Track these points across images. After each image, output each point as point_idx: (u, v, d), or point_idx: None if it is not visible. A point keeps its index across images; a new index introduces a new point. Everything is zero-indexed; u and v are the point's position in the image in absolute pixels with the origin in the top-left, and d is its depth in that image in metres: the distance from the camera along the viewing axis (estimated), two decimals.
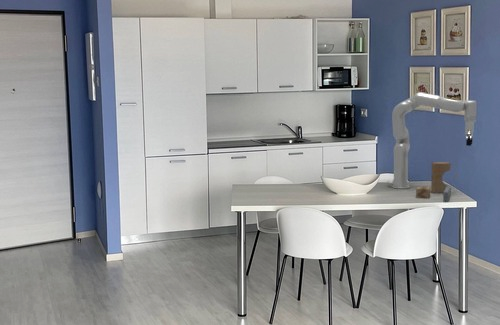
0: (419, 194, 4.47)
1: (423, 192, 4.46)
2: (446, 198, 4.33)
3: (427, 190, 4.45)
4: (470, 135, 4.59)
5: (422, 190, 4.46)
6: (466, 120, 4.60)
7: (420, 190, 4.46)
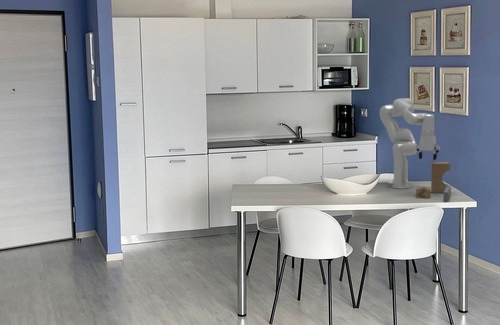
0: (419, 194, 4.47)
1: (423, 192, 4.46)
2: (446, 198, 4.33)
3: (427, 190, 4.45)
4: (434, 149, 4.52)
5: (422, 190, 4.46)
6: (431, 134, 4.49)
7: (420, 190, 4.46)
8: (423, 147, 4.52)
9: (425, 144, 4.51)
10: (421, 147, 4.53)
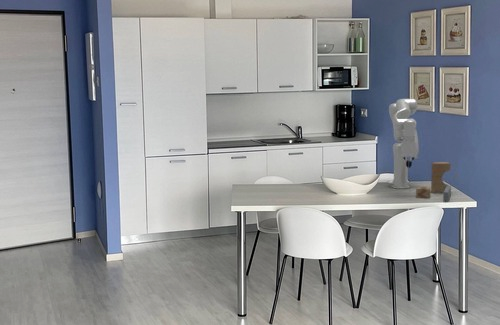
0: (419, 194, 4.47)
1: (423, 192, 4.46)
2: (446, 198, 4.33)
3: (427, 190, 4.45)
4: (412, 156, 4.50)
5: (422, 190, 4.46)
6: (413, 140, 4.45)
7: (420, 190, 4.46)
8: (405, 153, 4.48)
9: (408, 150, 4.47)
10: (403, 153, 4.48)
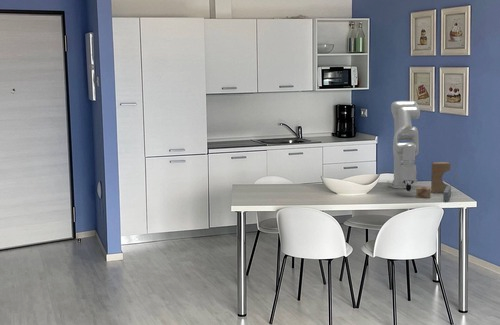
0: (419, 194, 4.47)
1: (423, 192, 4.46)
2: (446, 198, 4.33)
3: (427, 190, 4.45)
4: None
5: (422, 190, 4.46)
6: (413, 164, 4.47)
7: (420, 190, 4.46)
8: (405, 177, 4.50)
9: (407, 174, 4.49)
10: (403, 177, 4.50)
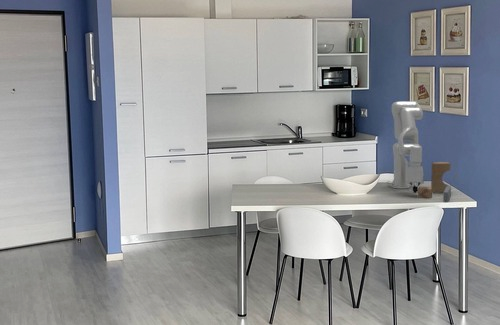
0: (421, 194, 4.47)
1: (425, 192, 4.45)
2: (446, 198, 4.33)
3: (429, 190, 4.44)
4: None
5: (424, 190, 4.45)
6: (420, 166, 4.46)
7: (422, 190, 4.46)
8: (411, 179, 4.48)
9: (414, 175, 4.47)
10: (409, 179, 4.49)
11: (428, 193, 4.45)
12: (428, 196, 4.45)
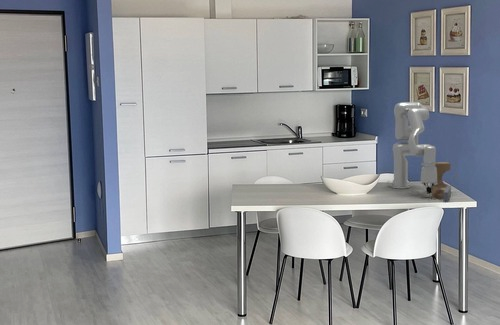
0: (435, 195, 4.44)
1: (439, 193, 4.42)
2: (446, 198, 4.33)
3: (443, 191, 4.41)
4: None
5: (438, 191, 4.43)
6: (433, 166, 4.43)
7: (436, 191, 4.43)
8: (425, 179, 4.45)
9: (428, 176, 4.44)
10: (423, 179, 4.46)
11: (442, 194, 4.42)
12: (442, 197, 4.42)
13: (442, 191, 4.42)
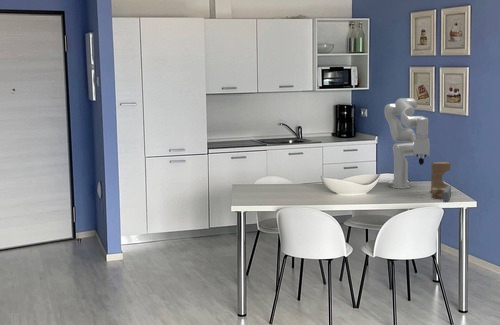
0: (435, 195, 4.44)
1: (439, 193, 4.42)
2: (446, 198, 4.33)
3: (443, 191, 4.41)
4: None
5: (438, 191, 4.43)
6: (426, 138, 4.46)
7: (436, 191, 4.43)
8: (418, 151, 4.48)
9: (420, 147, 4.47)
10: (416, 151, 4.49)
11: (442, 194, 4.42)
12: (442, 197, 4.42)
13: (442, 191, 4.42)
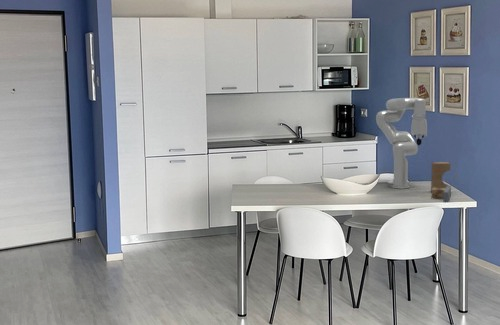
0: (435, 195, 4.44)
1: (439, 193, 4.42)
2: (446, 198, 4.33)
3: (443, 191, 4.41)
4: None
5: (438, 191, 4.42)
6: (423, 118, 4.55)
7: (436, 191, 4.43)
8: (415, 131, 4.57)
9: (418, 128, 4.56)
10: (413, 131, 4.58)
11: (442, 194, 4.42)
12: (442, 197, 4.42)
13: (442, 191, 4.42)
